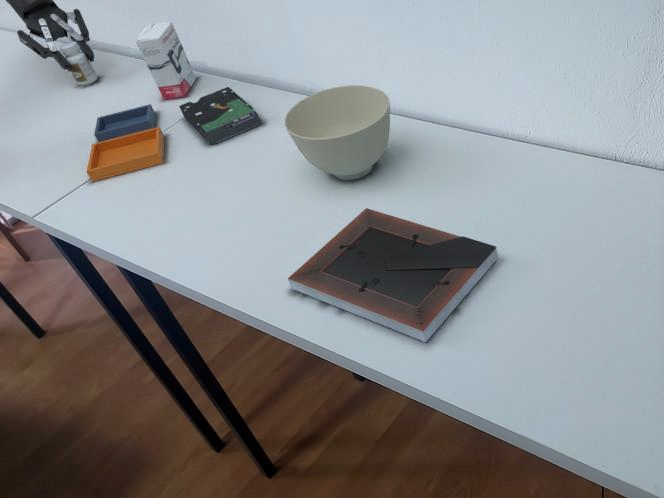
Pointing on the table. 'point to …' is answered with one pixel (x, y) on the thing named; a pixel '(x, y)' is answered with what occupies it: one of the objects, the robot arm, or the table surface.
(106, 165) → the orange tray
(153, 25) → the ink box
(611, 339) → the table surface
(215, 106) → the disk drive
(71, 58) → the pill bottle
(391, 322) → the picture frame
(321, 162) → the bowl
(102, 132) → the slate tray
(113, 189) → the table surface
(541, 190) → the table surface
